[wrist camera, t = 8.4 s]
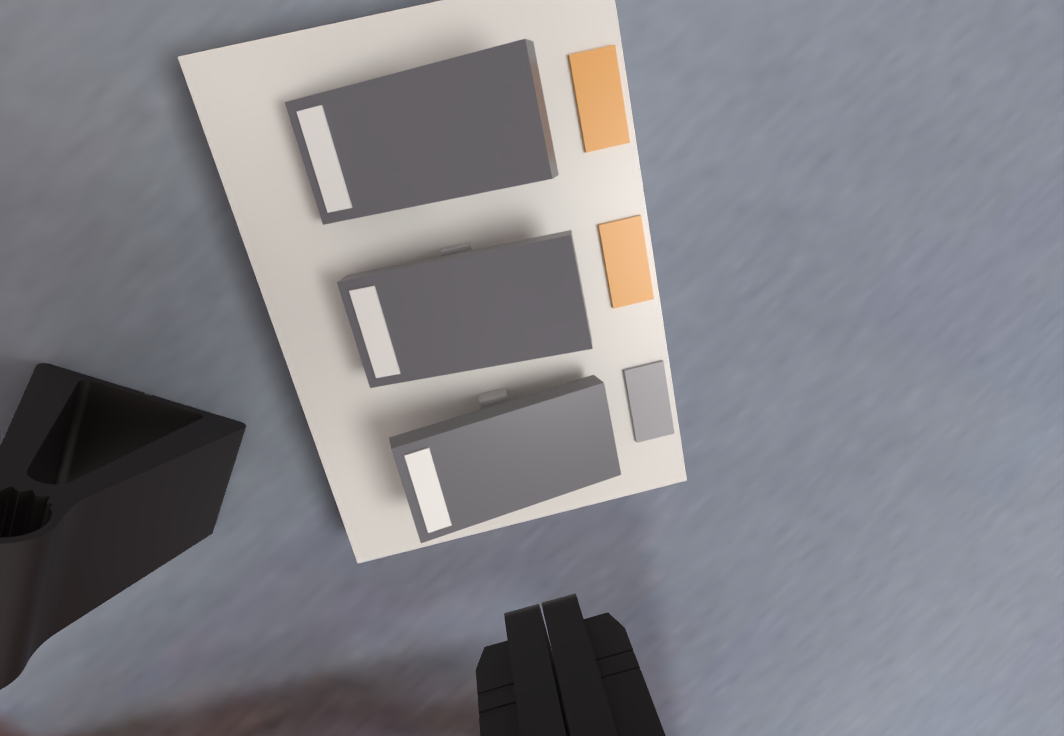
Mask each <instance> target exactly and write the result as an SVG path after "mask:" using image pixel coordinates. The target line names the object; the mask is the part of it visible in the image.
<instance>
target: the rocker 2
mask: <svg viewBox="0 0 1064 736" xmlns="http://www.w3.org/2000/svg"><path fill="white" fill-rule="evenodd" d="M337 285H338V288H339V291H340V294H341V297H342V301H343V304H344V307H345V310H346V313H347V316H348V320H349V323H350V326H351V329H352V332H353V336H354V339H355V342H356V345H357V348H358V351H359V355H360V358H361V361H362V364H363V367H364V370H365V374H366V377H367V380H368V383H369V386H370V388H374V387H380V386H385V385H391V384H397V383H402V382H408V381H414V380H419V379H425V378H430V377H436V376H442V375H447V374H453V373H459V372H464V371H470V370H476V369H481V368H487V367H493V366H498V365H504V364H510V363H515V362H521V361H527V360H532V359H538V358H544V357H549V356H555V355H561V354H566V353H572V352H578V351H583V350H589V349H593V347H592V336H591V331H590V326H589V320H588V315H587V310H586V304H585V299H584V294H583V289H582V283H581V278H580V273H579V267H578V262H577V257H576V251H575V246H574V241H573V236H572V230H568V231H563V232H558V233H553V234H548V235H543V236H539V237H534V238H529V239H524V240H519V241H514V242H509V243H504V244H499V245H494V246H489V247H484V248H479V249H474V250H469V251H464V252H459V253H454V254H449V255H444V256H439V257H434V258H429V259H425V260H420V261H415V262H410V263H405V264H400V265H395V266H390V267H385V268H380V269H375V270H370V271H365V272H360V273H355V274H350V275H346V276H345V277H344V278H342V279H341V280H339V281H338V282H337Z"/></svg>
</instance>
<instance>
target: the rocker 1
mask: <svg viewBox="0 0 1064 736" xmlns="http://www.w3.org/2000/svg"><path fill="white" fill-rule="evenodd" d="M285 105H286V108H287V112H288V115H289V118H290V121H291V124H292V128H293V131H294V134H295V137H296V140H297V144H298V147H299V150H300V153H301V156H302V160H303V163H304V166H305V169H306V172H307V176H308V179H309V182H310V185H311V188H312V192H313V195H314V198H315V201H316V204H317V208H318V211H319V214H320V217H321V220H322V224H323V225H325V224H330V223H335V222H340V221H345V220H350V219H355V218H360V217H365V216H370V215H375V214H380V213H385V212H390V211H395V210H400V209H405V208H410V207H415V206H420V205H425V204H430V203H435V202H439V201H444V200H449V199H454V198H459V197H464V196H469V195H474V194H479V193H484V192H489V191H494V190H499V189H504V188H509V187H514V186H519V185H524V184H529V183H534V182H539V181H544V180H549V179H553V178H555V177H556V176H558V175H559V174H558V169H557V163H556V158H555V153H554V148H553V142H552V137H551V132H550V126H549V121H548V116H547V111H546V105H545V100H544V95H543V90H542V84H541V79H540V74H539V69H538V63H537V58H536V53H535V47H534V42H533V41H531V40H528V39H522V40H518V41H514V42H511V43H507V44H503V45H499V46H495V47H492V48H488V49H484V50H480V51H477V52H473V53H469V54H465V55H461V56H458V57H454V58H450V59H446V60H442V61H439V62H435V63H431V64H427V65H424V66H420V67H416V68H412V69H408V70H405V71H401V72H397V73H393V74H389V75H386V76H382V77H378V78H374V79H371V80H367V81H363V82H359V83H355V84H352V85H348V86H344V87H340V88H336V89H333V90H329V91H325V92H321V93H318V94H314V95H310V96H306V97H302V98H299V99H295V100H291V101H287V102H285Z"/></svg>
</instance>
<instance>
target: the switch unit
mask: <svg viewBox="0 0 1064 736" xmlns="http://www.w3.org/2000/svg"><path fill="white" fill-rule="evenodd" d="M522 39H528V40H531V41H533V42H534V47H535V53H536V58H537V63H538V69H539V74H540V79H541V84H542V90H543V95H544V100H545V105H546V111H547V116H548V121H549V126H550V132H551V137H552V142H553V148H554V153H555V158H556V163H557V169H558V174H559V175H558V176H556V177H555V178H553V179H549V180H544V181H539V182H534V183H529V184H524V185H519V186H514V187H509V188H504V189H499V190H494V191H489V192H484V193H479V194H474V195H469V196H464V197H459V198H454V199H449V200H444V201H439V202H435V203H430V204H425V205H420V206H415V207H410V208H405V209H400V210H395V211H390V212H385V213H380V214H375V215H370V216H365V217H360V218H355V219H350V220H345V221H340V222H335V223H330V224H325V225H323V224H322V220H321V217H320V214H319V211H318V208H317V204H316V201H315V198H314V195H313V192H312V188H311V185H310V182H309V179H308V176H307V172H306V169H305V166H304V163H303V160H302V156H301V153H300V150H299V147H298V144H297V140H296V137H295V134H294V131H293V128H292V124H291V121H290V118H289V115H288V112H287V108H286V105H285V102H287V101H291V100H295V99H299V98H302V97H306V96H310V95H314V94H318V93H321V92H325V91H329V90H333V89H336V88H340V87H344V86H348V85H352V84H355V83H359V82H363V81H367V80H371V79H374V78H378V77H382V76H386V75H389V74H393V73H397V72H401V71H405V70H408V69H412V68H416V67H420V66H424V65H427V64H431V63H435V62H439V61H442V60H446V59H450V58H454V57H458V56H461V55H465V54H469V53H473V52H477V51H480V50H484V49H488V48H492V47H495V46H499V45H503V44H507V43H511V42H514V41H518V40H522ZM178 59H179V62H180V65H181V68H182V71H183V73H184V76H185V79H186V82H187V85H188V88H189V90H190V93H191V96H192V99H193V102H194V104H195V107H196V110H197V113H198V116H199V118H200V121H201V124H202V127H203V130H204V133H205V135H206V138H207V141H208V144H209V147H210V149H211V152H212V155H213V158H214V161H215V163H216V166H217V169H218V172H219V175H220V178H221V180H222V183H223V186H224V189H225V192H226V194H227V197H228V200H229V203H230V206H231V208H232V211H233V214H234V217H235V220H236V222H237V225H238V228H239V231H240V234H241V237H242V239H243V242H244V245H245V248H246V251H247V253H248V256H249V259H250V262H251V265H252V267H253V270H254V273H255V276H256V279H257V282H258V284H259V287H260V290H261V293H262V296H263V298H264V301H265V304H266V307H267V310H268V312H269V315H270V318H271V321H272V324H273V326H274V329H275V332H276V335H277V338H278V341H279V343H280V346H281V349H282V352H283V355H284V357H285V360H286V363H287V366H288V369H289V371H290V374H291V377H292V380H293V383H294V386H295V388H296V391H297V394H298V397H299V400H300V402H301V405H302V408H303V411H304V414H305V416H306V419H307V422H308V425H309V428H310V430H311V433H312V436H313V439H314V442H315V445H316V447H317V450H318V453H319V456H320V459H321V461H322V464H323V467H324V470H325V473H326V475H327V478H328V481H329V484H330V487H331V490H332V492H333V495H334V498H335V501H336V504H337V506H338V509H339V512H340V515H341V518H342V520H343V523H344V526H345V529H346V532H347V534H348V537H349V540H350V543H351V546H352V549H353V551H354V554H355V557H356V560H357V563H362V562H366V561H370V560H374V559H378V558H382V557H386V556H390V555H394V554H398V553H401V552H405V551H409V550H413V549H417V548H421V547H425V546H429V545H433V544H437V543H441V542H445V541H449V540H453V539H457V538H461V537H465V536H469V535H473V534H477V533H481V532H485V531H489V530H493V529H497V528H500V527H504V526H508V525H512V524H516V523H520V522H524V521H528V520H532V519H536V518H540V517H544V516H548V515H552V514H556V513H560V512H564V511H568V510H572V509H576V508H580V507H584V506H588V505H592V504H596V503H600V502H603V501H607V500H611V499H615V498H619V497H623V496H627V495H631V494H635V493H639V492H643V491H647V490H651V489H655V488H659V487H663V486H667V485H671V484H675V483H679V482H683V481H687V478H686V472H685V465H684V458H683V452H682V445H681V438H680V431H679V425H678V418H677V411H676V405H675V398H674V391H673V385H672V378H671V371H670V365H669V358H668V351H667V345H666V338H665V331H664V325H663V318H662V311H661V305H660V298H659V291H658V284H657V278H656V271H655V264H654V258H653V251H652V244H651V238H650V231H649V224H648V218H647V211H646V204H645V198H644V191H643V184H642V178H641V171H640V164H639V158H638V151H637V144H636V138H635V131H634V124H633V117H632V111H631V104H630V97H629V91H628V84H627V77H626V71H625V64H624V57H623V51H622V44H621V37H620V31H619V24H618V17H617V11H616V4H615V0H441V1H436V2H432V3H427V4H422V5H418V6H413V7H408V8H404V9H399V10H394V11H389V12H385V13H380V14H375V15H371V16H366V17H361V18H357V19H352V20H347V21H343V22H338V23H333V24H329V25H324V26H319V27H315V28H310V29H305V30H300V31H296V32H291V33H286V34H282V35H277V36H272V37H268V38H263V39H258V40H254V41H249V42H244V43H240V44H235V45H230V46H226V47H221V48H216V49H211V50H207V51H202V52H197V53H193V54H188V55H183V56H179V57H178ZM568 230H572V236H573V241H574V246H575V251H576V257H577V262H578V267H579V273H580V278H581V283H582V289H583V294H584V299H585V304H586V310H587V315H588V320H589V326H590V331H591V336H592V347H593V349H589V350H583V351H578V352H572V353H566V354H561V355H555V356H549V357H544V358H538V359H532V360H527V361H521V362H515V363H510V364H504V365H498V366H493V367H487V368H481V369H476V370H470V371H464V372H459V373H453V374H447V375H442V376H436V377H430V378H425V379H419V380H414V381H408V382H402V383H397V384H391V385H385V386H380V387H374V388H370V386H369V383H368V380H367V377H366V374H365V370H364V367H363V364H362V361H361V358H360V355H359V351H358V348H357V345H356V342H355V339H354V336H353V332H352V329H351V326H350V323H349V320H348V316H347V313H346V310H345V307H344V304H343V301H342V297H341V294H340V291H339V288H338V285H337V282H338V281H339V280H341V279H342V278H344V277H345V276H346V275H350V274H355V273H360V272H365V271H370V270H375V269H380V268H385V267H390V266H395V265H400V264H405V263H410V262H415V261H420V260H425V259H429V258H434V257H439V256H444V255H449V254H454V253H459V252H464V251H469V250H474V249H479V248H484V247H489V246H494V245H499V244H504V243H509V242H514V241H519V240H524V239H529V238H534V237H539V236H543V235H548V234H553V233H558V232H563V231H568ZM591 375H595V376H596V377H597V378H599V379H600V380H601V381H603V382H604V385H605V390H606V396H607V401H608V406H609V412H610V417H611V422H612V428H613V433H614V438H615V444H616V449H617V455H618V460H619V465H620V471H621V475H619V476H616V477H613V478H610V479H607V480H605V481H602V482H599V483H596V484H593V485H590V486H587V487H584V488H581V489H578V490H575V491H572V492H570V493H567V494H564V495H561V496H558V497H555V498H552V499H549V500H546V501H543V502H540V503H537V504H535V505H532V506H529V507H526V508H523V509H520V510H517V511H514V512H511V513H508V514H505V515H502V516H500V517H497V518H494V519H491V520H488V521H485V522H482V523H479V524H476V525H473V526H470V527H467V528H465V529H462V530H459V531H456V532H453V533H450V534H447V535H444V536H441V537H438V538H435V539H432V540H430V541H427V542H424V543H421V542H420V539H419V536H418V533H417V530H416V526H415V523H414V520H413V517H412V514H411V510H410V507H409V504H408V501H407V498H406V494H405V491H404V488H403V485H402V482H401V479H400V475H399V472H398V469H397V466H396V463H395V459H394V456H393V453H392V450H391V446H390V441H389V437H392V436H396V435H399V434H402V433H405V432H409V431H412V430H415V429H418V428H422V427H425V426H428V425H431V424H435V423H438V422H441V421H444V420H448V419H451V418H454V417H457V416H461V415H464V414H467V413H470V412H474V411H477V410H480V409H483V408H487V407H490V406H493V405H496V404H500V403H503V402H506V401H509V400H513V399H516V398H519V397H522V396H526V395H529V394H532V393H536V392H539V391H542V390H545V389H549V388H552V387H555V386H558V385H562V384H565V383H568V382H571V381H575V380H578V379H581V378H584V377H588V376H591Z"/></svg>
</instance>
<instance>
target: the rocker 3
mask: <svg viewBox="0 0 1064 736" xmlns="http://www.w3.org/2000/svg"><path fill="white" fill-rule="evenodd" d="M389 441H390V446H391V450H392V453H393V456H394V459H395V463H396V466H397V469H398V472H399V475H400V479H401V482H402V485H403V488H404V491H405V494H406V498H407V501H408V504H409V507H410V510H411V514H412V517H413V520H414V523H415V526H416V530H417V533H418V536H419V539H420V542H421V543H424V542H427V541H430V540H432V539H435V538H438V537H441V536H444V535H447V534H450V533H453V532H456V531H459V530H462V529H465V528H467V527H470V526H473V525H476V524H479V523H482V522H485V521H488V520H491V519H494V518H497V517H500V516H502V515H505V514H508V513H511V512H514V511H517V510H520V509H523V508H526V507H529V506H532V505H535V504H537V503H540V502H543V501H546V500H549V499H552V498H555V497H558V496H561V495H564V494H567V493H570V492H572V491H575V490H578V489H581V488H584V487H587V486H590V485H593V484H596V483H599V482H602V481H605V480H607V479H610V478H613V477H616V476H619V475H621V471H620V465H619V460H618V455H617V449H616V444H615V438H614V433H613V428H612V422H611V417H610V412H609V406H608V401H607V396H606V390H605V385H604V382H603V381H601V380H600V379H599V378H597V377H596V376H595V375H591V376H588V377H584V378H581V379H578V380H575V381H571V382H568V383H565V384H562V385H558V386H555V387H552V388H549V389H545V390H542V391H539V392H536V393H532V394H529V395H526V396H522V397H519V398H516V399H513V400H509V401H506V402H503V403H500V404H496V405H493V406H490V407H487V408H483V409H480V410H477V411H474V412H470V413H467V414H464V415H461V416H457V417H454V418H451V419H448V420H444V421H441V422H438V423H435V424H431V425H428V426H425V427H422V428H418V429H415V430H412V431H409V432H405V433H402V434H399V435H396V436H392V437H389Z"/></svg>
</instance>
